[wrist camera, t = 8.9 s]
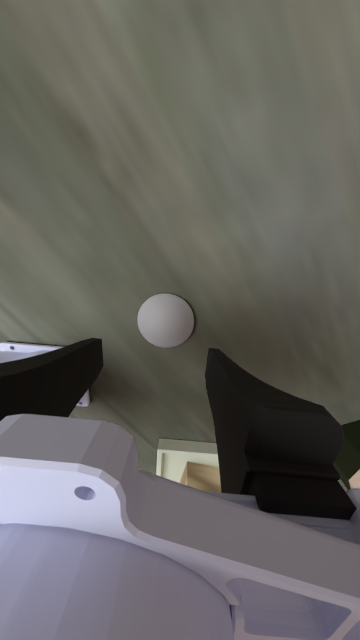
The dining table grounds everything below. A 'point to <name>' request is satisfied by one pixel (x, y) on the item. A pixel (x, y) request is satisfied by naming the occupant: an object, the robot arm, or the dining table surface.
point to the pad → (165, 320)
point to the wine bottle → (349, 456)
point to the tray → (183, 456)
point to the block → (201, 477)
